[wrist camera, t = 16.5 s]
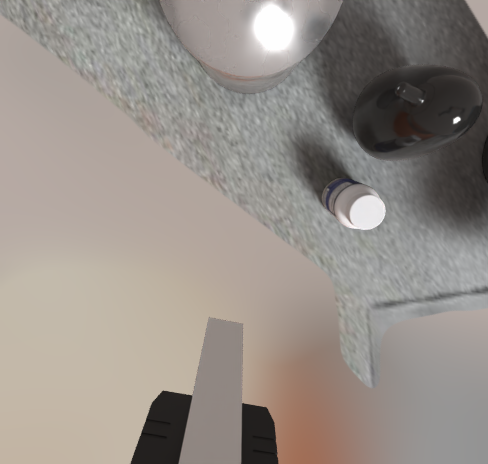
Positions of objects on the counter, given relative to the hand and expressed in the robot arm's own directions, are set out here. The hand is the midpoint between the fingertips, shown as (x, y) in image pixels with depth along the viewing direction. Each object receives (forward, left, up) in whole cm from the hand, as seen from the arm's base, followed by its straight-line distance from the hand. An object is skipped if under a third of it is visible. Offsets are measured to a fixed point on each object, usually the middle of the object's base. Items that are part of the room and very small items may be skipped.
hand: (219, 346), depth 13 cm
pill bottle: (-14, -4, -31) cm, 34 cm away
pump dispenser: (-16, -15, -31) cm, 38 cm away
